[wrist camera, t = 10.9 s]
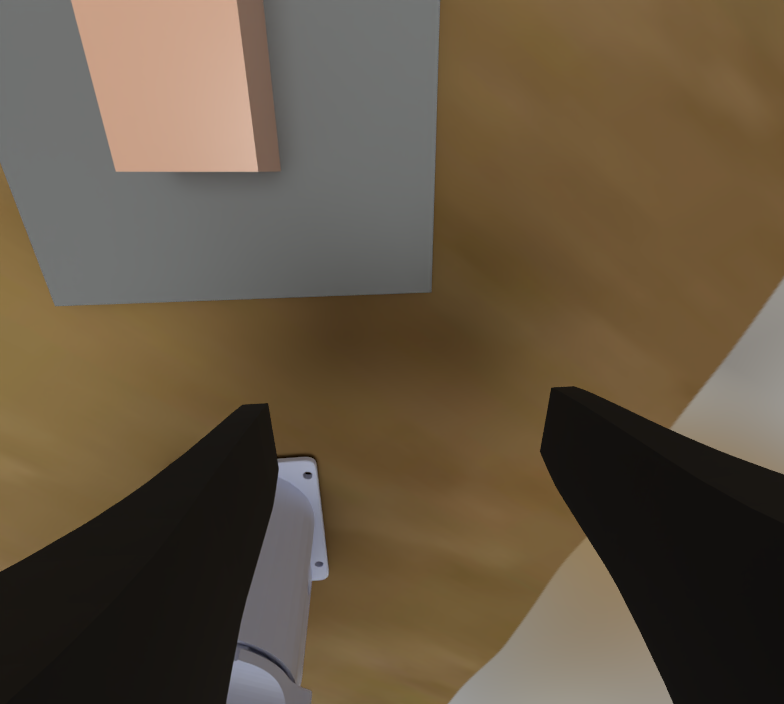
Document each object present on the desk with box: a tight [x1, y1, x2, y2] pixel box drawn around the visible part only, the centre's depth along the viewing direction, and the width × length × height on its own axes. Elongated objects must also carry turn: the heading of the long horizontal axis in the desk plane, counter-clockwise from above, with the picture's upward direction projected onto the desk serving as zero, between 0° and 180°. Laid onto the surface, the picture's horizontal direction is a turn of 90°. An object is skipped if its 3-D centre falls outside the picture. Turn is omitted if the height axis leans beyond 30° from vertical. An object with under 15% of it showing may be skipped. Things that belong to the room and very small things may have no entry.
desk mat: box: [0, 0, 440, 306], centre depth 14 cm, size 16×16×1 cm
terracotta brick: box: [71, 0, 281, 172], centre depth 12 cm, size 6×4×4 cm, turn 0°
